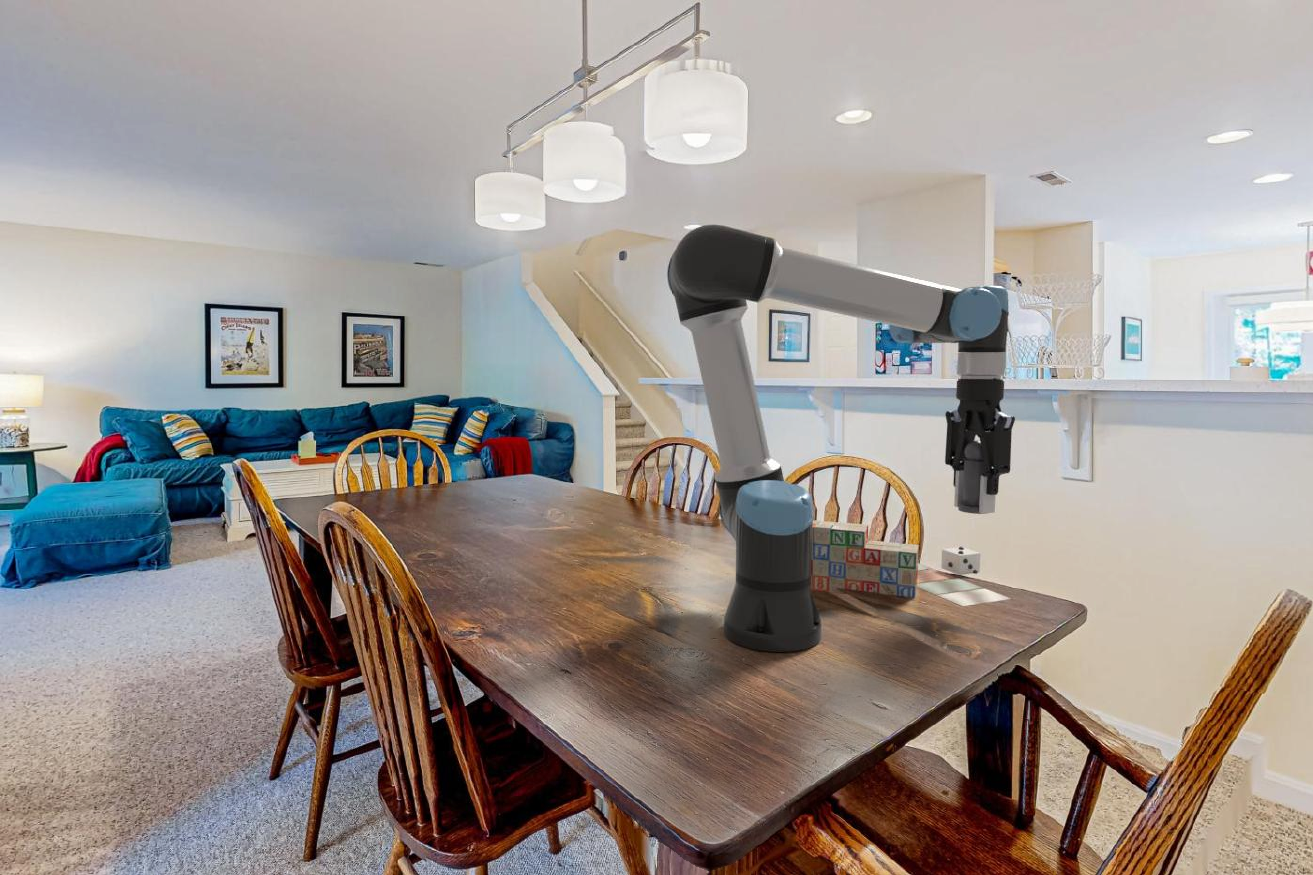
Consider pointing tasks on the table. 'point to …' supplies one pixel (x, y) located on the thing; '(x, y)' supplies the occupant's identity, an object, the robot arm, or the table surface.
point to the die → (960, 561)
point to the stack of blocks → (860, 561)
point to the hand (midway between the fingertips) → (974, 509)
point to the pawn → (972, 478)
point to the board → (954, 588)
